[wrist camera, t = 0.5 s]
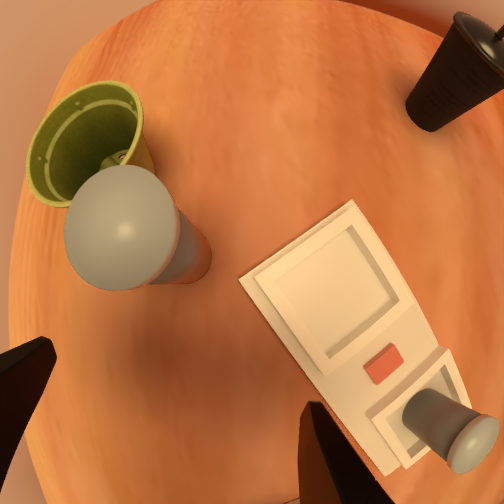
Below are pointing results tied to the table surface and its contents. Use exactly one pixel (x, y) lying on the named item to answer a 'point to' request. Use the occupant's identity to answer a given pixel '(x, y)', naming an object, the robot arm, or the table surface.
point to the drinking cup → (459, 73)
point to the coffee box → (294, 501)
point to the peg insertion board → (369, 346)
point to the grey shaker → (132, 233)
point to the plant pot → (86, 140)
